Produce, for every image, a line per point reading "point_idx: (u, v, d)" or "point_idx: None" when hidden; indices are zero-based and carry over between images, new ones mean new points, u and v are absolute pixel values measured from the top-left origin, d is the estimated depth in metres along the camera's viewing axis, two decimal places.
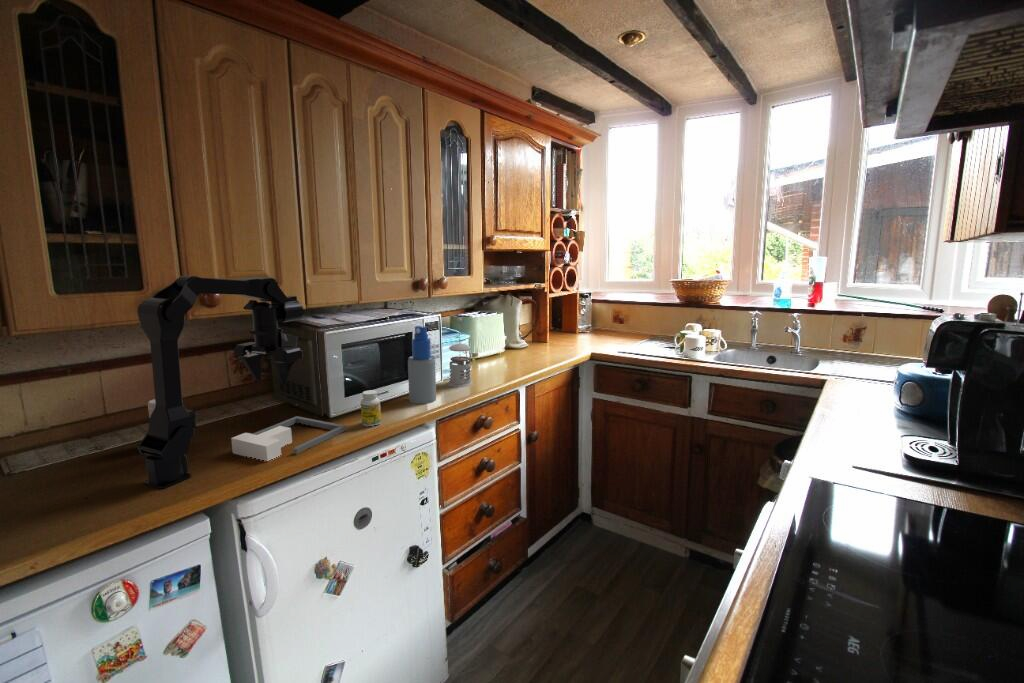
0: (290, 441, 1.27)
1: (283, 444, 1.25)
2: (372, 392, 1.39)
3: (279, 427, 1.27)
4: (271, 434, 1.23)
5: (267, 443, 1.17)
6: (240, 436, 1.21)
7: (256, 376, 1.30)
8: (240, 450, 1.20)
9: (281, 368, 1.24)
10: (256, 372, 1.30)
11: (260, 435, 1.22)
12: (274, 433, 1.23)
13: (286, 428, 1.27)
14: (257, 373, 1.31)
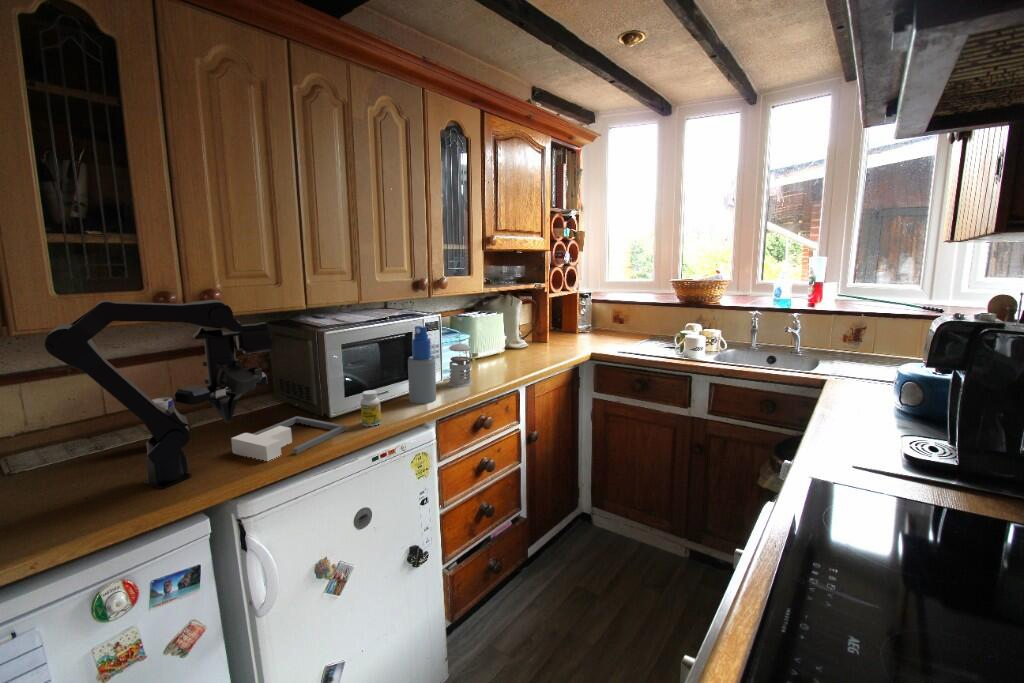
0: (290, 441, 1.27)
1: (283, 444, 1.25)
2: (372, 392, 1.39)
3: (279, 427, 1.27)
4: (271, 434, 1.23)
5: (267, 443, 1.17)
6: (240, 436, 1.21)
7: None
8: (240, 450, 1.20)
9: (212, 402, 1.10)
10: None
11: (260, 435, 1.22)
12: (274, 433, 1.23)
13: (286, 428, 1.27)
14: None
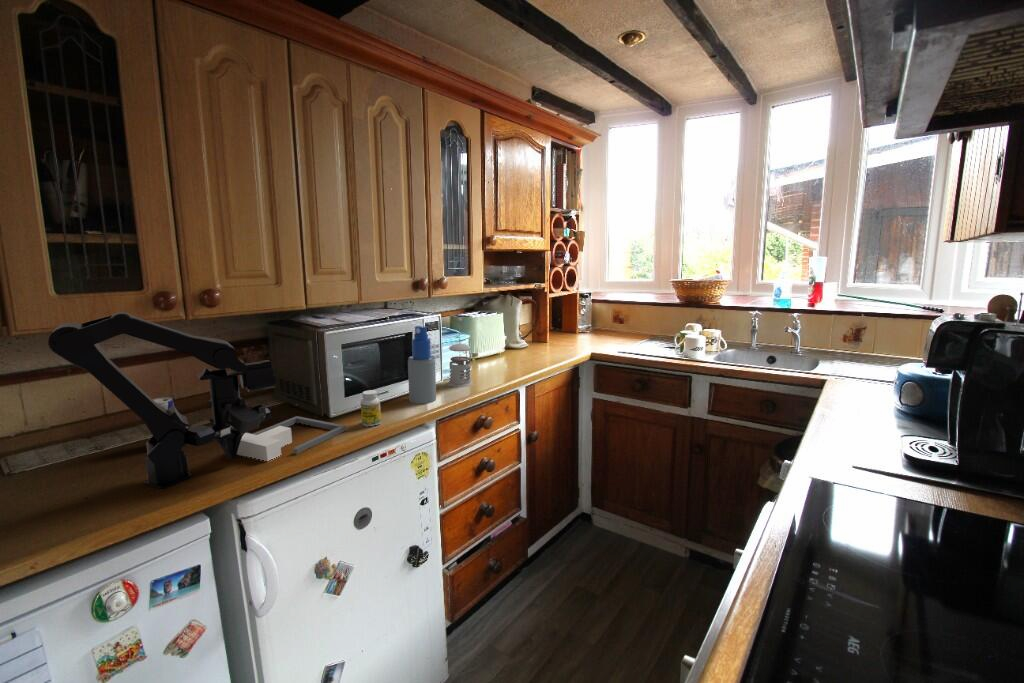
0: (290, 441, 1.27)
1: (283, 444, 1.25)
2: (372, 392, 1.39)
3: (279, 427, 1.27)
4: (271, 434, 1.23)
5: (267, 443, 1.17)
6: None
7: None
8: (240, 450, 1.20)
9: (216, 439, 1.12)
10: None
11: (260, 435, 1.22)
12: (274, 433, 1.23)
13: (286, 428, 1.27)
14: None
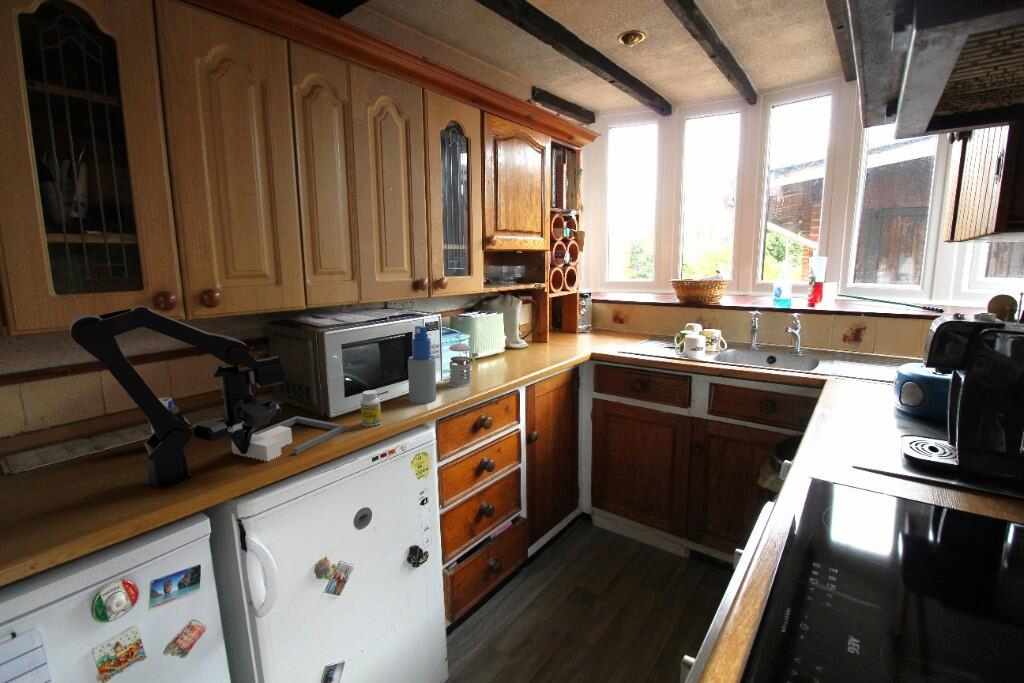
0: (290, 441, 1.27)
1: (283, 444, 1.25)
2: (372, 392, 1.39)
3: (279, 427, 1.27)
4: (271, 434, 1.23)
5: (267, 443, 1.17)
6: None
7: None
8: None
9: (229, 435, 1.15)
10: None
11: (260, 435, 1.22)
12: (274, 433, 1.23)
13: (286, 428, 1.27)
14: None
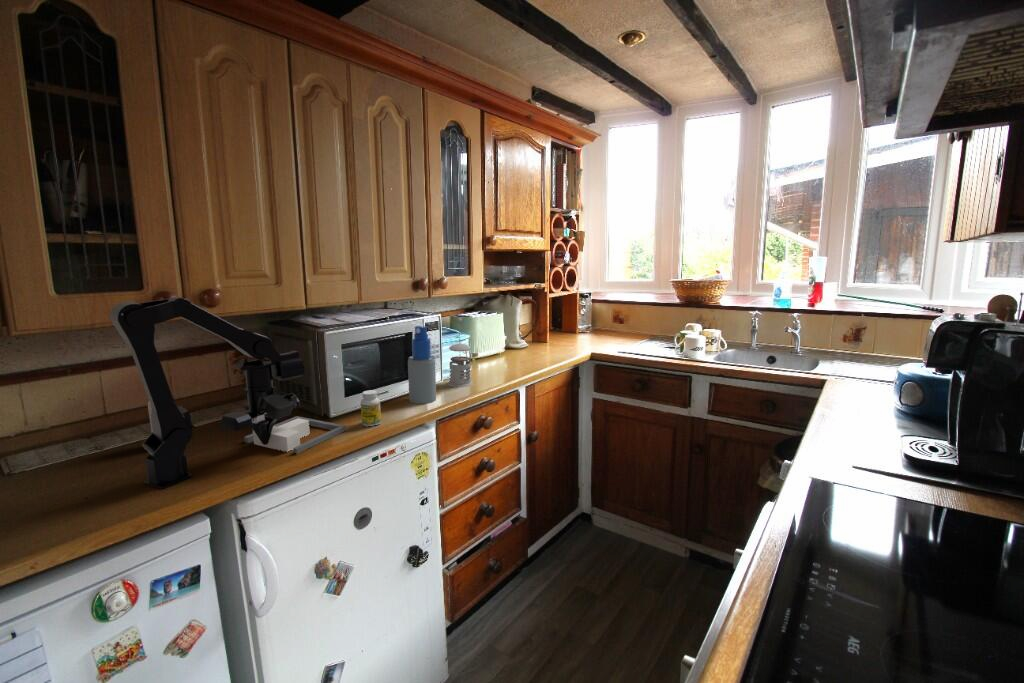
0: (308, 433, 1.33)
1: (302, 436, 1.31)
2: (372, 392, 1.39)
3: (297, 419, 1.33)
4: (290, 426, 1.28)
5: (287, 434, 1.22)
6: None
7: None
8: None
9: (251, 426, 1.20)
10: None
11: (280, 427, 1.27)
12: (293, 425, 1.29)
13: (304, 420, 1.32)
14: None
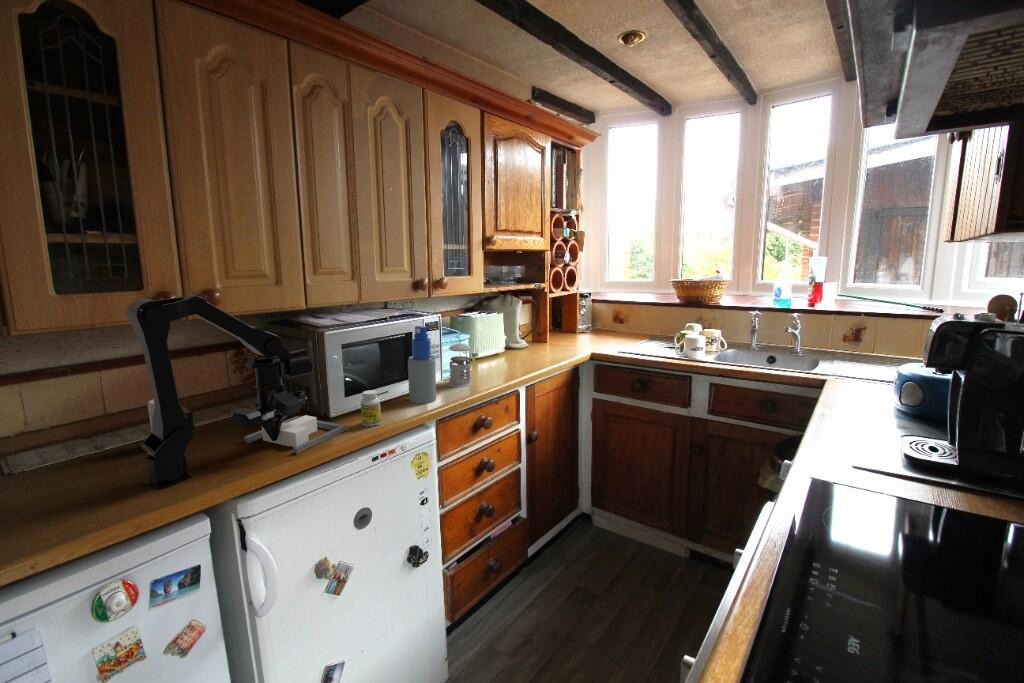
0: (315, 429, 1.35)
1: (309, 432, 1.33)
2: (372, 392, 1.39)
3: (305, 416, 1.35)
4: (298, 422, 1.31)
5: (296, 431, 1.25)
6: None
7: None
8: None
9: (261, 422, 1.23)
10: None
11: (288, 423, 1.30)
12: (301, 422, 1.31)
13: (312, 417, 1.35)
14: None
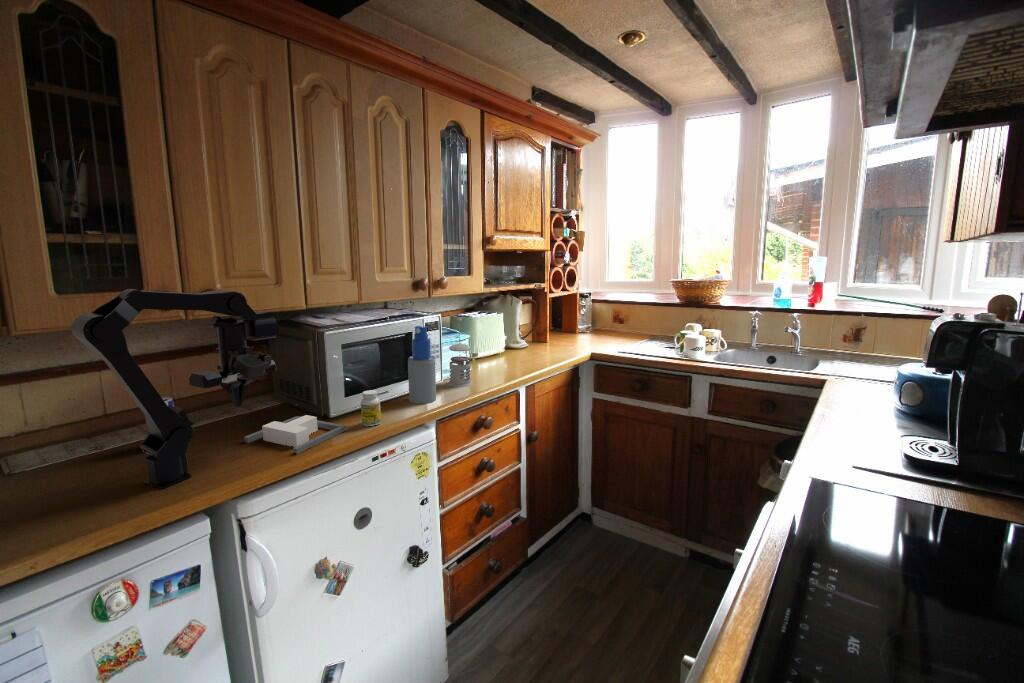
0: (316, 429, 1.35)
1: (310, 432, 1.33)
2: (372, 392, 1.39)
3: (305, 416, 1.35)
4: (299, 422, 1.31)
5: (296, 431, 1.25)
6: (270, 424, 1.29)
7: None
8: (270, 437, 1.28)
9: (223, 387, 1.16)
10: None
11: (289, 423, 1.30)
12: (301, 421, 1.31)
13: (312, 417, 1.35)
14: None
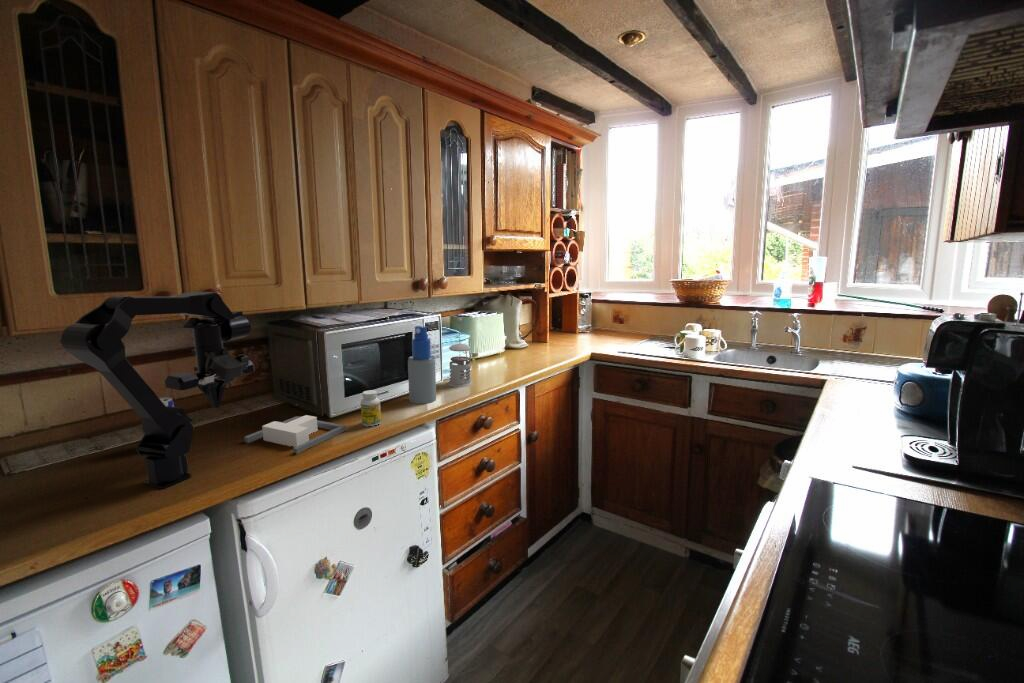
0: (316, 429, 1.35)
1: (310, 432, 1.33)
2: (372, 392, 1.39)
3: (305, 416, 1.35)
4: (299, 422, 1.31)
5: (296, 430, 1.25)
6: (270, 424, 1.29)
7: None
8: (270, 437, 1.28)
9: (201, 388, 1.16)
10: None
11: (289, 423, 1.30)
12: (301, 421, 1.31)
13: (312, 417, 1.35)
14: None
